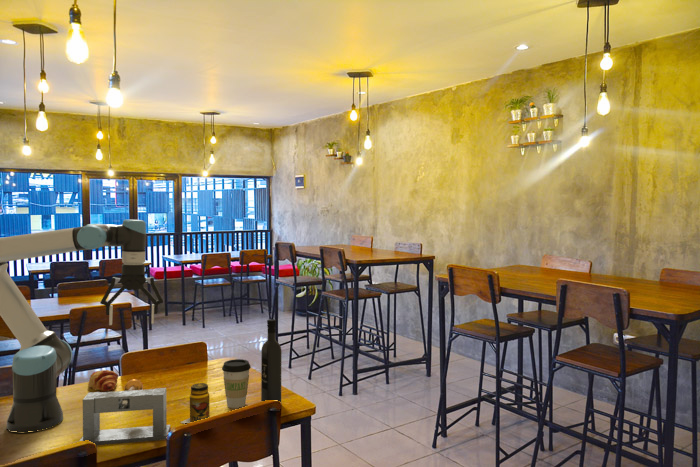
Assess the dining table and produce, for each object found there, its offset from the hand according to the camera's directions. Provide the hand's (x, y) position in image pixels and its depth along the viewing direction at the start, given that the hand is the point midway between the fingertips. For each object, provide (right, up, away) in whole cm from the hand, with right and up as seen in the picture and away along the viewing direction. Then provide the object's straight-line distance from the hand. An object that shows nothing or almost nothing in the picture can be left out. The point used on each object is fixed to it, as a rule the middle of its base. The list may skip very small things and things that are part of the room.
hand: (131, 323), depth 178 cm
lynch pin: (+9, -20, -23) cm, 32 cm away
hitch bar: (+10, -29, -27) cm, 41 cm away
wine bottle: (+49, -29, 0) cm, 57 cm away
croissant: (-18, -28, +18) cm, 38 cm away
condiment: (+28, -29, -15) cm, 43 cm away
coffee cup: (+37, -29, -1) cm, 47 cm away
